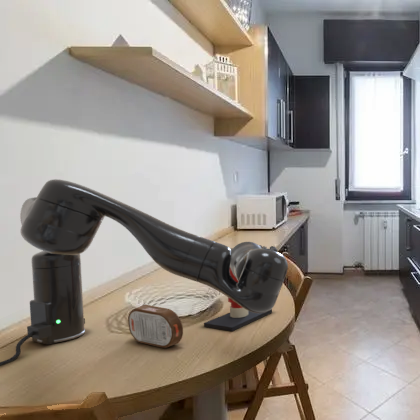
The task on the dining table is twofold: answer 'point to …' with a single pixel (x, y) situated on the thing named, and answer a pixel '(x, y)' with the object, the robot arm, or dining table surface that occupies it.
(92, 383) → the dining table surface
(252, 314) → the rubber mat
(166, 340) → the tin
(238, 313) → the squeeze bottle
